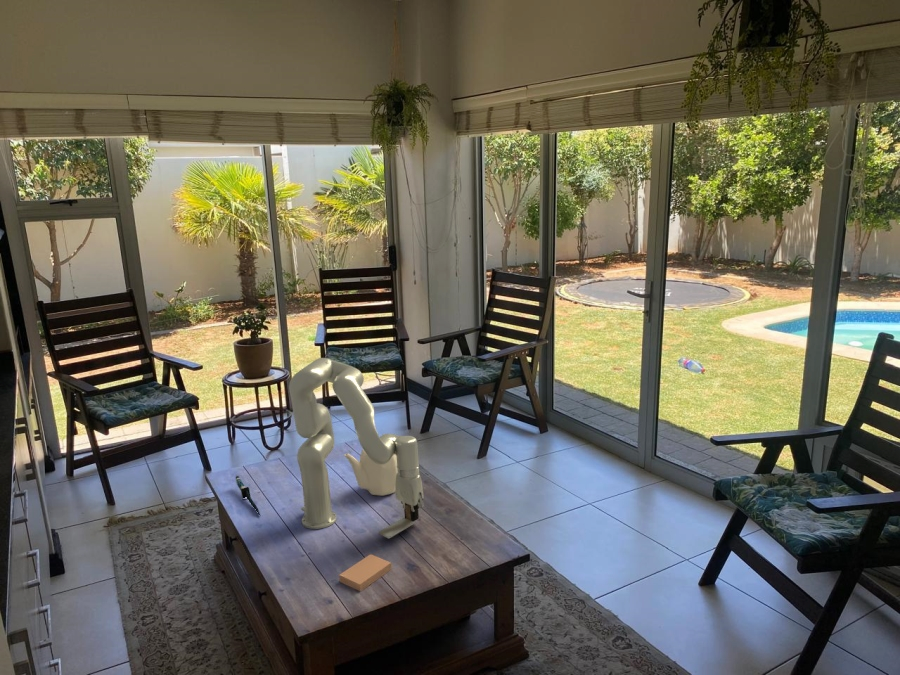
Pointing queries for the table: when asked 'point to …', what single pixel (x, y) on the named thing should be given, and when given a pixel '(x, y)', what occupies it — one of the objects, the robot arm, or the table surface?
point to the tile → (365, 572)
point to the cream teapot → (374, 474)
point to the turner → (399, 524)
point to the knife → (245, 492)
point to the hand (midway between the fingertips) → (411, 518)
